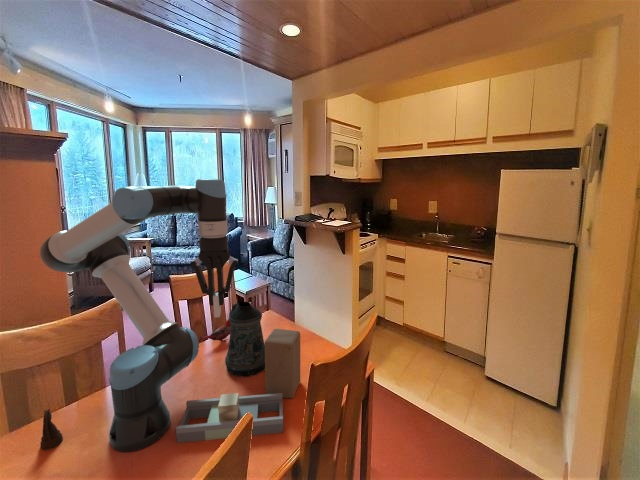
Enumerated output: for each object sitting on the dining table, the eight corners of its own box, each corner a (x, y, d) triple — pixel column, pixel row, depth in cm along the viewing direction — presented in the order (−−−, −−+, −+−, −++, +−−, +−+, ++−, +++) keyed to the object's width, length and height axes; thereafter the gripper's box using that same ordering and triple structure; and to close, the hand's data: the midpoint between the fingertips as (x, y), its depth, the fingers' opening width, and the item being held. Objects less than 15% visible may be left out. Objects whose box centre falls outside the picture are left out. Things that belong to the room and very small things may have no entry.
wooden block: (293, 400, 102) (292, 344, 98) (264, 395, 103) (263, 341, 100) (301, 381, 111) (301, 330, 107) (274, 377, 113) (273, 327, 109)
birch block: (219, 421, 88) (218, 406, 87) (222, 409, 93) (221, 394, 92) (237, 420, 89) (236, 404, 88) (239, 407, 94) (238, 393, 93)
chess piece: (64, 433, 87) (59, 402, 85) (61, 446, 83) (55, 414, 81) (42, 440, 85) (36, 408, 83) (38, 454, 80) (32, 421, 79)
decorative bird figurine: (238, 337, 142) (237, 317, 140) (202, 353, 129) (200, 330, 127) (234, 335, 144) (233, 315, 142) (198, 350, 130) (197, 328, 129)
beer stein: (253, 382, 110) (251, 317, 106) (210, 369, 117) (206, 308, 113) (276, 358, 125) (275, 300, 121) (236, 348, 133) (234, 293, 128)
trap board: (177, 442, 84) (175, 428, 84) (188, 413, 95) (187, 400, 94) (283, 432, 88) (283, 418, 88) (282, 405, 99) (282, 392, 98)
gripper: (184, 238, 81) (190, 322, 85) (235, 237, 83) (239, 319, 87) (192, 233, 88) (197, 311, 92) (239, 233, 90) (241, 309, 94)
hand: (217, 315), depth 90 cm, fingers closed
